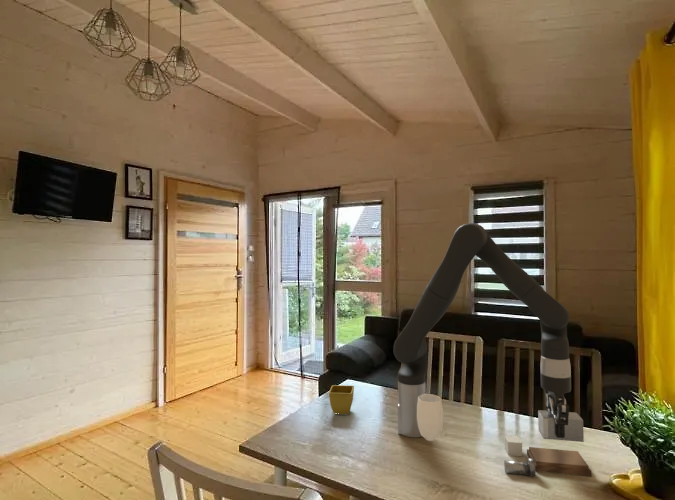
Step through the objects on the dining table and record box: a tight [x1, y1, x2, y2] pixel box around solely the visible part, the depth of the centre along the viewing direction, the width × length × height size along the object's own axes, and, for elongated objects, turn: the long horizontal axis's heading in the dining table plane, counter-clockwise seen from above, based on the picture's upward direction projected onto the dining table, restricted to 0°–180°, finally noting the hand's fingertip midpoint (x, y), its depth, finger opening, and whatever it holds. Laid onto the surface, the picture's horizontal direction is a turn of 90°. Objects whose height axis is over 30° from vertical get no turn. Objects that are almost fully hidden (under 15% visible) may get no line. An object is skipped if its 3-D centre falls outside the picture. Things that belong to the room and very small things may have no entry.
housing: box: [537, 409, 585, 443], centre depth 110 cm, size 5×10×6 cm, turn 77°
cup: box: [417, 393, 444, 442], centre depth 108 cm, size 7×7×21 cm
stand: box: [526, 446, 593, 478], centre depth 110 cm, size 14×9×2 cm, turn 77°
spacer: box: [503, 435, 523, 457], centre depth 118 cm, size 4×4×4 cm
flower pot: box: [328, 384, 355, 415], centre depth 149 cm, size 9×9×9 cm
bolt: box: [503, 457, 537, 477], centre depth 107 cm, size 7×4×4 cm, turn 77°
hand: (556, 432), depth 110 cm, fingers closed on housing, 5 cm apart
